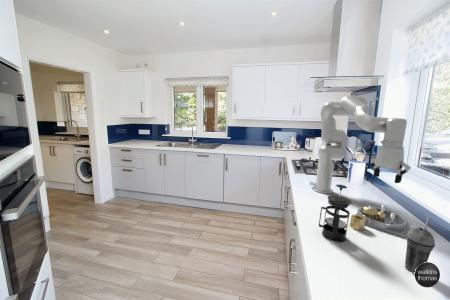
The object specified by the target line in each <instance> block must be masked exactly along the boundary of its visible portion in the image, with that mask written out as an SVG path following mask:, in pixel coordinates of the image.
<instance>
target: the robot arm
mask: <svg viewBox="0 0 450 300" xmlns="http://www.w3.org/2000/svg"><path fill="white" fill-rule="evenodd" d="M369 113H370V106H369V104H368V101H367V99H366V98H365V97H364V96H359V95H358V96H357V95H345V96H344V97H342V99H340V101H329V102H326V103H324V104H323V105H322V107H321V111H320V118H321V141H322V142H323V143H325V144H326V145H321V146H320V147H319V148H318V151H317V155H318V164H317V171H316V173H317V174H316V181H309V185H311V186H312V190H313V191H315V192H317V193H321V194H327V195H328V194H332V193H333V189H332V180H333V175H334V174H333V173H334V169H335V168H334V163H333V160H343V159H344V158H345V157H346V154H347V143H348V142H347V133H346V132H345V130H343V129H340V128H339V129H338V128H337V121H336V119H335V118H334V116H341V117H342V116H343V117H346V116H347V117H348V116H353V117H354V123H355V124H356V125H357V126H358V127H359V128H360V129H362V130H363V131H365V132H366V133H367V132H368V133H379V134H380V133H382V134H384V135H383V140H381V141H380V144H381V145H380V146H379V149H378V151H377V154H376V156H375V157H374V158H371V159H370V163H371V166H372V168H373V177H374V178H379V177H380V173H381V169H380V168H383V169H388V170H391V171H392V170H394V171H395V172H396V174H395V179H394V183H395V184H399V183H400V184H401V182H402V178H403V175H405V174H407V173H408V172H409V171H410V170H411V169H412V168H411V166H410V165H409V164H407V163H406V162H404V161H405V151H404V148H403V145H404V141H405V135H406V130H407V124H408V120H407V119H406V118H401V117H400V118H397V117H395V118H394V117H381V116H372V115H370V114H369ZM328 144H329V145H328ZM330 144H331V145H330ZM332 144H333V145H332ZM403 168H404V169H403Z"/></svg>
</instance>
